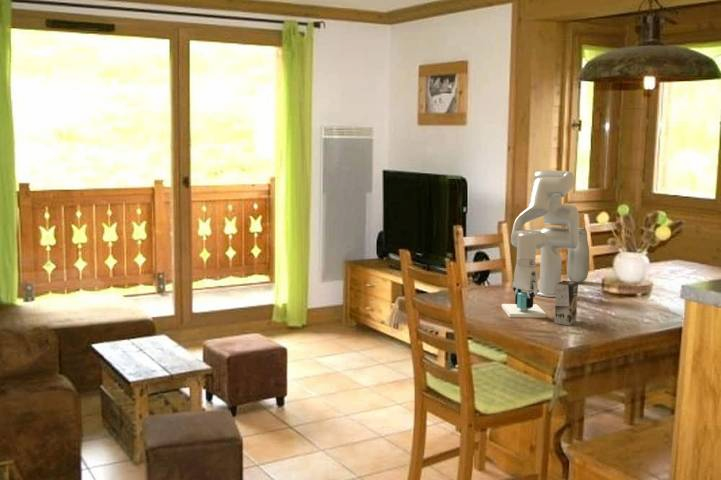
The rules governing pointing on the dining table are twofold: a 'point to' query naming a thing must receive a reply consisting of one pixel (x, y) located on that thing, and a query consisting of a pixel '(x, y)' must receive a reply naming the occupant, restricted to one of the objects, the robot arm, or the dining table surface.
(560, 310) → the coffee box
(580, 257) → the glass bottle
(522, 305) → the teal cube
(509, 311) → the mount
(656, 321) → the dining table surface
